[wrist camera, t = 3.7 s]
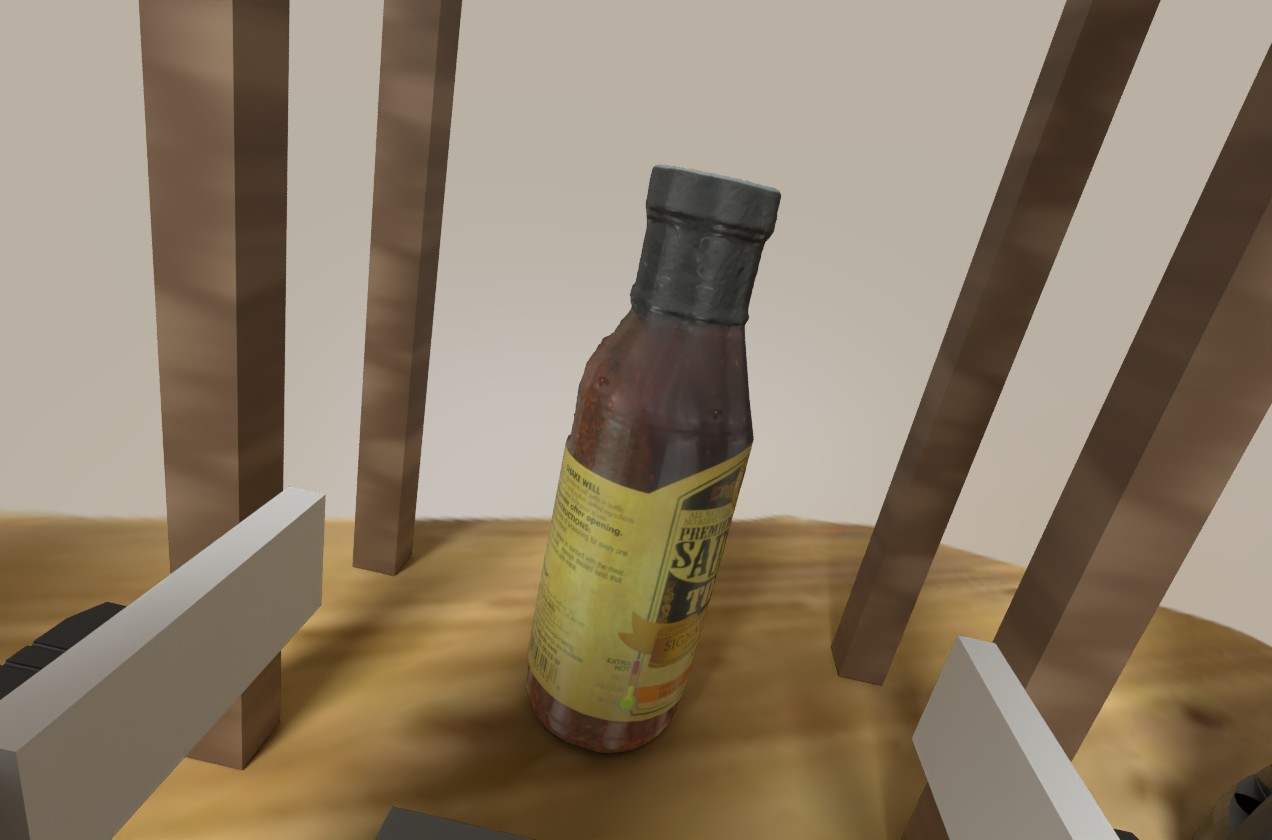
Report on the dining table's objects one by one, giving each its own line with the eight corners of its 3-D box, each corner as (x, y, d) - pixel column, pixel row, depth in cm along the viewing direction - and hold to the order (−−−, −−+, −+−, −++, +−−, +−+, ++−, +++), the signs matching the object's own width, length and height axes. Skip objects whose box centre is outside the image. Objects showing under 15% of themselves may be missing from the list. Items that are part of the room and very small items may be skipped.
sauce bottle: (653, 790, 23) (818, 194, 16) (491, 724, 24) (580, 144, 18) (692, 671, 29) (825, 198, 22) (560, 623, 30) (647, 161, 24)
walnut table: (871, 656, 33) (1183, -140, 22) (972, 940, 20) (1805, -552, 9) (372, 544, 33) (428, -287, 22) (180, 755, 21) (91, -859, 10)
